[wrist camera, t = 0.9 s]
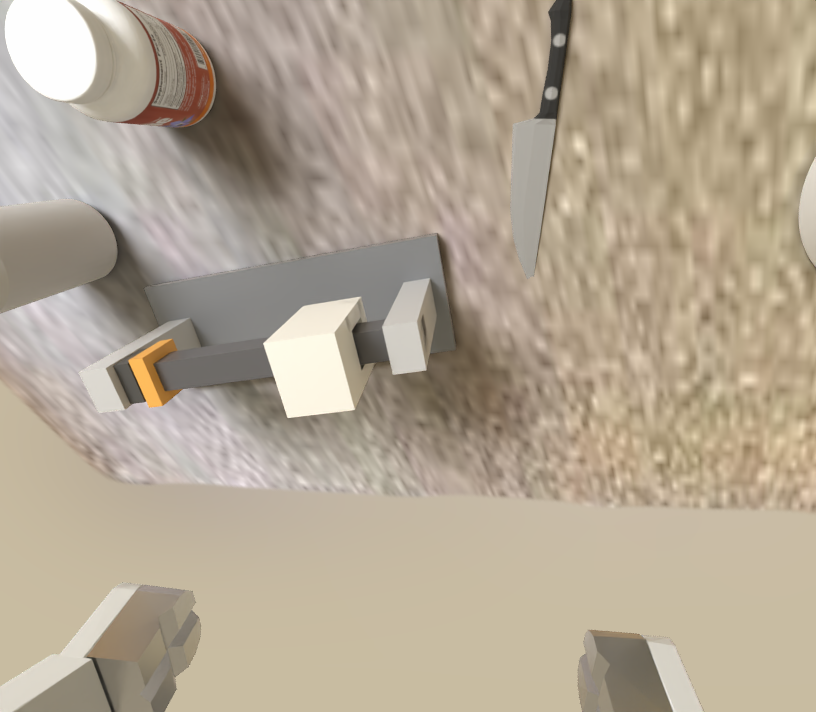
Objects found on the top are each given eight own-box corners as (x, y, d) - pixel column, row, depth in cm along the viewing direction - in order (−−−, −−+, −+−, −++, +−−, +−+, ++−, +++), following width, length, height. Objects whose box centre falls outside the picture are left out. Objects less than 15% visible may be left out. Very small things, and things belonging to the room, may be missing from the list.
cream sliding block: (361, 296, 31) (334, 332, 25) (376, 360, 33) (354, 409, 26) (303, 305, 32) (263, 343, 25) (321, 368, 33) (287, 417, 27)
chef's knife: (491, 294, 37) (530, 297, 37) (490, 298, 36) (531, 301, 36) (522, -5, 30) (572, -5, 29) (523, -10, 29) (575, -11, 28)
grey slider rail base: (437, 233, 35) (424, 265, 25) (456, 345, 39) (452, 413, 28) (151, 285, 40) (42, 330, 29) (190, 382, 43) (104, 452, 33)
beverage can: (63, 180, 37) (-108, 192, 26) (136, 232, 38) (1, 264, 27) (37, 246, 39) (-129, 282, 28) (107, 293, 40) (-28, 346, 29)
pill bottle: (129, 109, 34) (-12, 92, 24) (138, 11, 32) (-15, -54, 22) (211, 141, 35) (105, 137, 24) (227, 46, 32) (116, -3, 22)
